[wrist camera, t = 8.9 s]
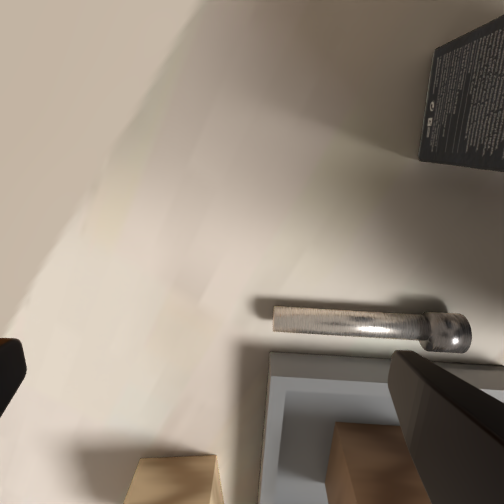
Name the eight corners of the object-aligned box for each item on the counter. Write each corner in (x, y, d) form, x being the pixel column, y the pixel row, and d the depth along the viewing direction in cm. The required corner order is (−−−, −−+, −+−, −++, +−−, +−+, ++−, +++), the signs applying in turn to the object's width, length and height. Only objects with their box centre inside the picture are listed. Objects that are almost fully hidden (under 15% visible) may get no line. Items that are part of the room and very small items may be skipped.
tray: (504, 366, 23) (532, 392, 20) (448, 529, 28) (466, 565, 25) (269, 351, 23) (270, 375, 21) (255, 516, 28) (255, 551, 25)
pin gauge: (453, 306, 22) (476, 326, 19) (444, 339, 22) (465, 361, 20) (274, 295, 22) (276, 313, 19) (271, 328, 22) (273, 349, 20)
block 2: (419, 427, 24) (470, 518, 18) (402, 488, 26) (444, 589, 20) (335, 421, 24) (359, 511, 18) (324, 483, 26) (343, 582, 20)
